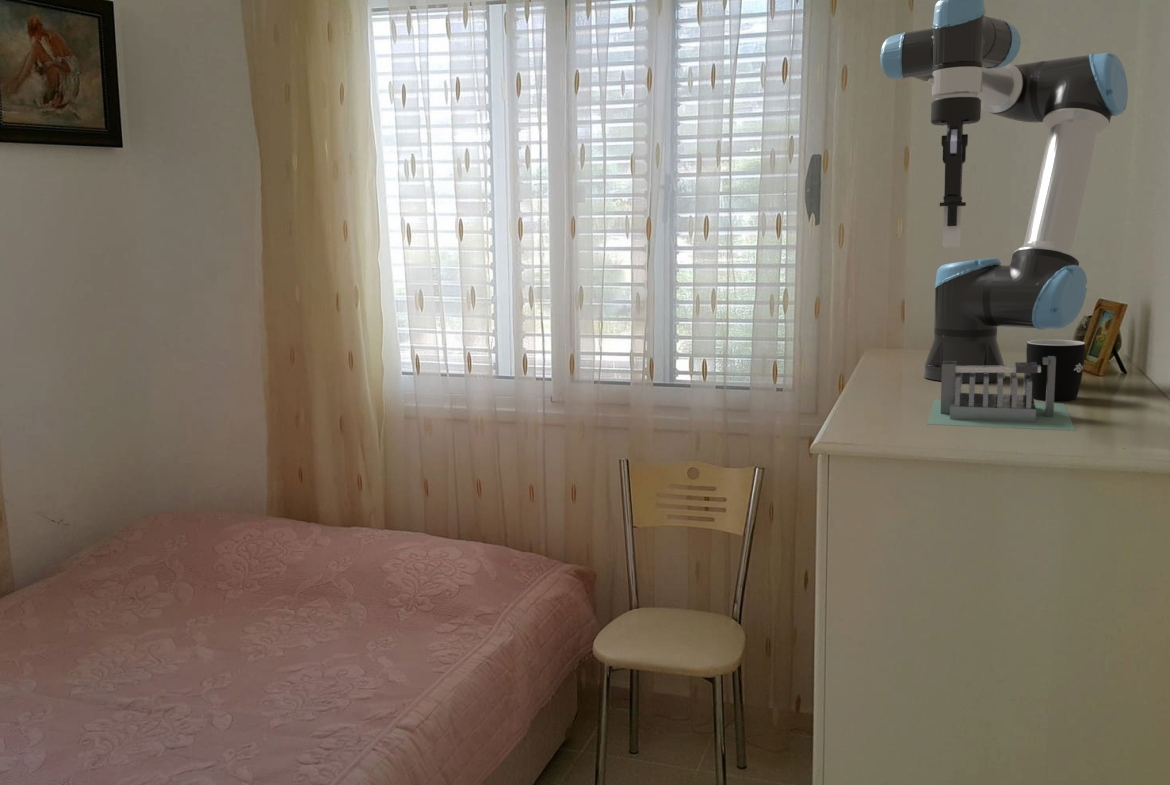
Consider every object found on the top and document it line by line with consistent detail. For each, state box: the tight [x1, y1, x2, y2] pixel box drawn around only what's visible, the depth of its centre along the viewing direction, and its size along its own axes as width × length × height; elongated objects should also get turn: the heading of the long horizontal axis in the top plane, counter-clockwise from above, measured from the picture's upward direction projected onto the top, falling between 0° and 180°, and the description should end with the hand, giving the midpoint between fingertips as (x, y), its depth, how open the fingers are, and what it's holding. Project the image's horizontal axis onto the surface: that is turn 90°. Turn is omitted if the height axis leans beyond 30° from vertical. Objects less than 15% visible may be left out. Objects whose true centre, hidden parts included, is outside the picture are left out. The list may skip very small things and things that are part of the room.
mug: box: [1025, 339, 1086, 403], centre depth 172 cm, size 12×9×10 cm
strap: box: [956, 361, 1041, 374], centre depth 158 cm, size 5×14×1 cm, turn 69°
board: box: [927, 398, 1076, 432], centre depth 159 cm, size 24×20×1 cm
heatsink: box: [940, 356, 1056, 423], centre depth 158 cm, size 14×16×9 cm
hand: (951, 246), depth 166 cm, fingers closed
